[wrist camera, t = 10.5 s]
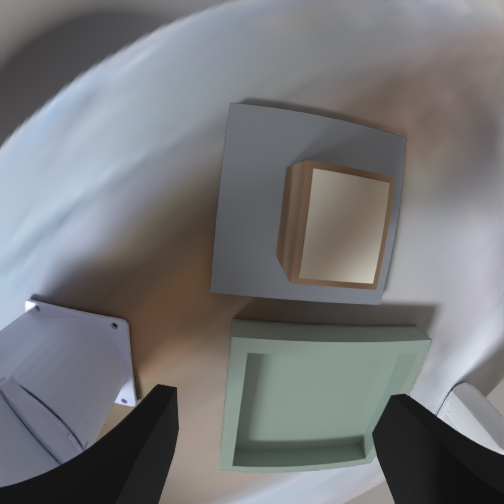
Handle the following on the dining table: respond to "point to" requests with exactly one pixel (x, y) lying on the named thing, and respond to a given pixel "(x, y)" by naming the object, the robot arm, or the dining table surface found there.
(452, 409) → the white rounded block
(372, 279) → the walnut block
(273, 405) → the bin
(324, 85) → the dining table surface
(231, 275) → the slate mat
